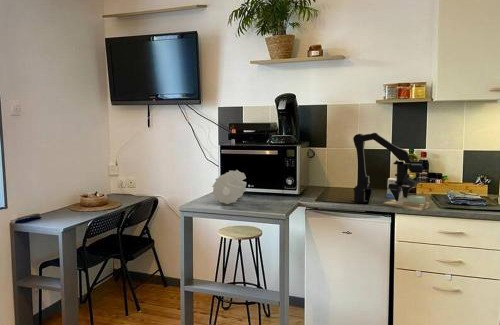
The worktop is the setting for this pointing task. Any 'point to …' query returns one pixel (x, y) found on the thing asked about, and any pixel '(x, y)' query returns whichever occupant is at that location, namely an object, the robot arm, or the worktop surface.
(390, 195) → the ink box
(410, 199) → the sage block
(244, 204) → the worktop surface
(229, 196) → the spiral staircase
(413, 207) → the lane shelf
